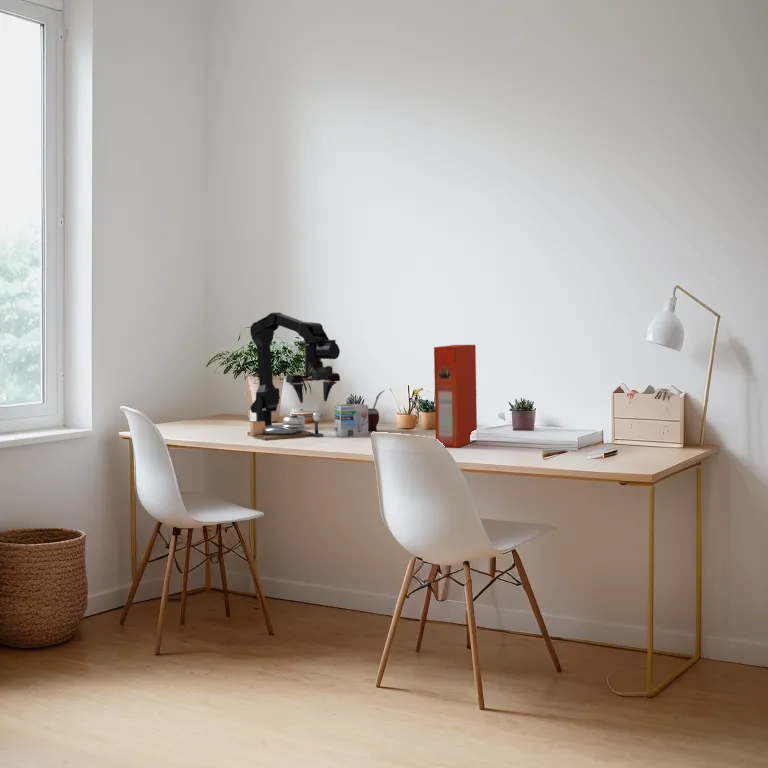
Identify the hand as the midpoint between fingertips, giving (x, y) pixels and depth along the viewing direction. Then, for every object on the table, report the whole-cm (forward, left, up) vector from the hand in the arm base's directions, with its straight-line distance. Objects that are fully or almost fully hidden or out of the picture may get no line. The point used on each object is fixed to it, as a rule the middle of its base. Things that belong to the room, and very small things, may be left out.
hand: (313, 402), depth 355 cm
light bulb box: (+13, +9, -11) cm, 19 cm away
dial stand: (+8, -4, -11) cm, 14 cm away
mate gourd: (+7, +20, -11) cm, 24 cm away
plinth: (-1, -12, -11) cm, 17 cm away
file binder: (+52, +27, -11) cm, 59 cm away
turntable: (-1, -14, -10) cm, 17 cm away
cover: (-1, -7, -8) cm, 11 cm away
